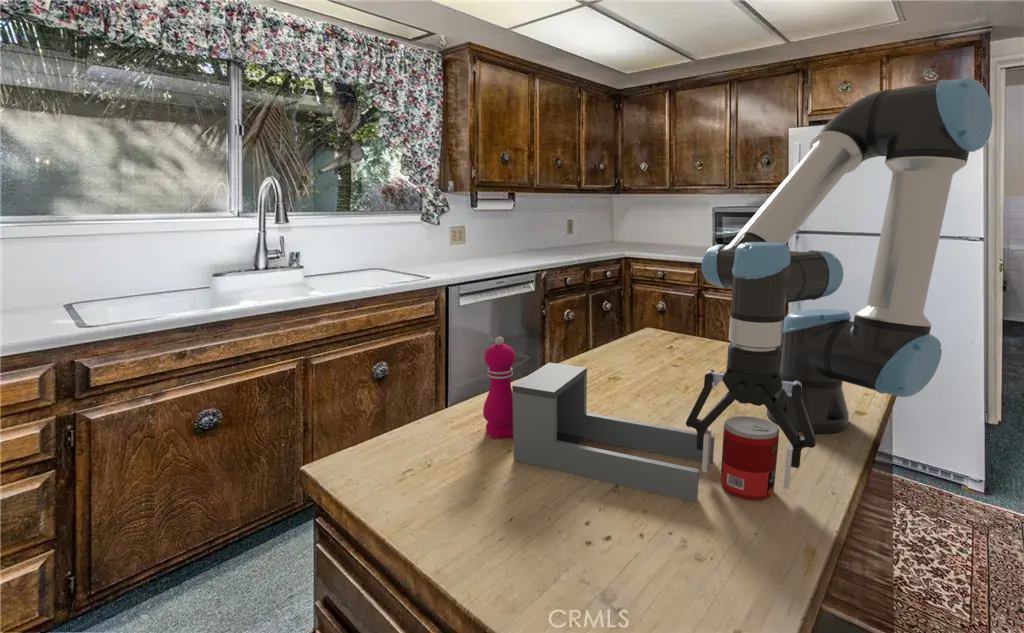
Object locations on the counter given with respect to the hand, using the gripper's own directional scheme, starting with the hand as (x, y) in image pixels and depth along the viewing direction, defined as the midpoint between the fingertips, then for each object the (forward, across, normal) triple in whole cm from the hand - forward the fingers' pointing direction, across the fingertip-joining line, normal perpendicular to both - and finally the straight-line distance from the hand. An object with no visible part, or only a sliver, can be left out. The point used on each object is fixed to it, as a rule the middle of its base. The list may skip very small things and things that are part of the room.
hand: (744, 476), depth 91 cm
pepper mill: (+2, +46, -2) cm, 46 cm away
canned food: (+2, 0, 0) cm, 2 cm away
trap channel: (+2, +21, 0) cm, 21 cm away
